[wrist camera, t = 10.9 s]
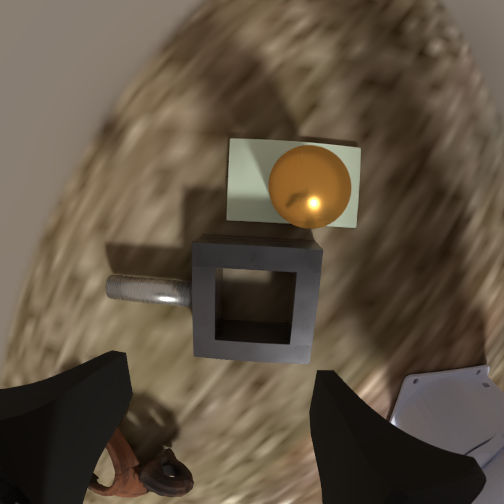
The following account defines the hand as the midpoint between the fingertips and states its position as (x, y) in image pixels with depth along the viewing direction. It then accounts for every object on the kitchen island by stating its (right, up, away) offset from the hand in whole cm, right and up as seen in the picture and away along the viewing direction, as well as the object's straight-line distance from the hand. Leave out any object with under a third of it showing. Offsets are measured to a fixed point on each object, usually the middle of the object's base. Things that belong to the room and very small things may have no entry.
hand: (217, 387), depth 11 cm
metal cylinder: (+4, +9, +8) cm, 12 cm away
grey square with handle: (-1, +3, +10) cm, 10 cm away
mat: (+4, +9, +8) cm, 13 cm away
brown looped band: (-9, -13, +14) cm, 21 cm away
